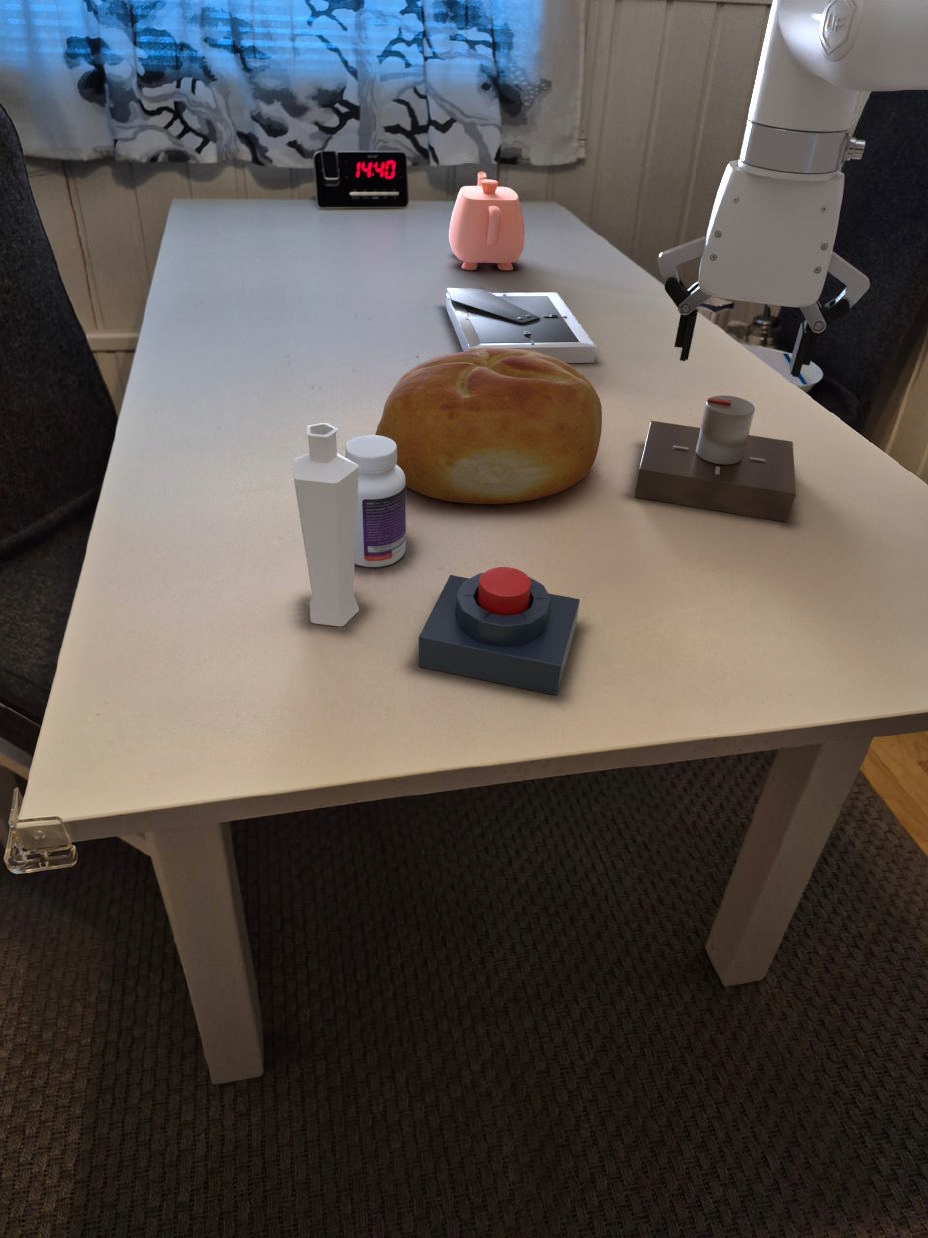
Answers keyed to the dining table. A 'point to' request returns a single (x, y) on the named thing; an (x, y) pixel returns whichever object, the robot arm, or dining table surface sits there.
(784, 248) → the robot arm
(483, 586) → the button
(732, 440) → the knob
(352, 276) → the dining table surface
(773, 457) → the dial panel
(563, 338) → the picture frame
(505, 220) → the teapot
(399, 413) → the bread
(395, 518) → the pill bottle
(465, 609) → the button box
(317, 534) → the perfume bottle
